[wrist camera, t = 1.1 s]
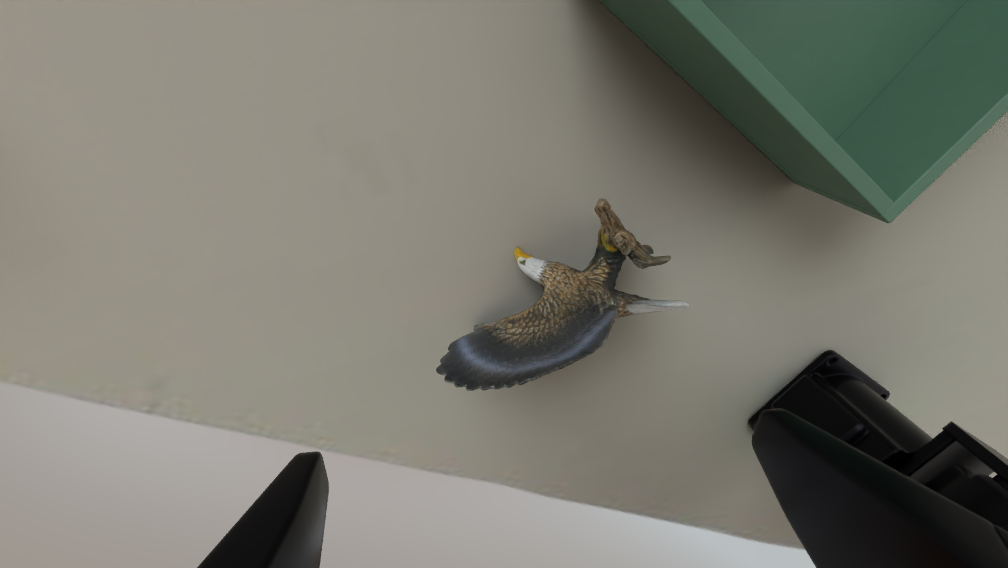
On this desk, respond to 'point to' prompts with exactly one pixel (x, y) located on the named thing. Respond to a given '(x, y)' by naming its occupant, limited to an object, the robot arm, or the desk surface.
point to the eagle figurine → (555, 315)
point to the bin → (842, 83)
